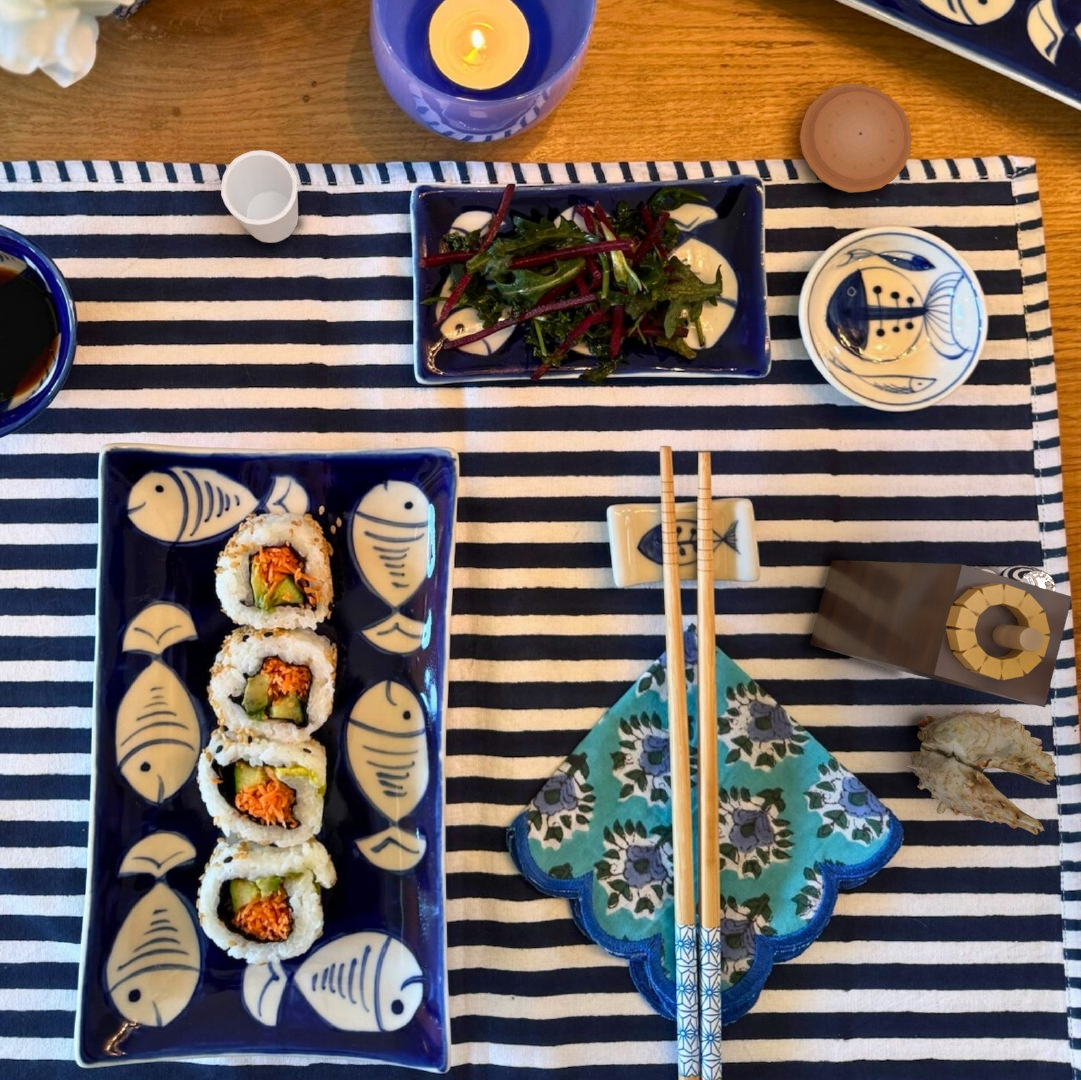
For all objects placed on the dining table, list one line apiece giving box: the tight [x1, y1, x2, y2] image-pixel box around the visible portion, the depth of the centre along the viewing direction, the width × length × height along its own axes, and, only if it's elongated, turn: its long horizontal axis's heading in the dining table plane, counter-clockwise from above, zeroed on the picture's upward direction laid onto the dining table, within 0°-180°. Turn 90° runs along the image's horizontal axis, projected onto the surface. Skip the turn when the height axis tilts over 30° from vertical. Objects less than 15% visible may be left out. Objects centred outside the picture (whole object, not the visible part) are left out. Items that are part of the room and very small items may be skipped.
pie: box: [798, 83, 913, 194], centre depth 146 cm, size 15×16×5 cm
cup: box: [220, 149, 299, 244], centre depth 141 cm, size 10×10×13 cm
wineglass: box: [980, 564, 1057, 592], centre depth 138 cm, size 6×6×12 cm
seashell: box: [906, 708, 1057, 836], centre depth 134 cm, size 18×18×15 cm
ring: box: [946, 583, 1050, 680], centre depth 109 cm, size 10×10×2 cm
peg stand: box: [809, 559, 1073, 708], centre depth 124 cm, size 12×12×39 cm
